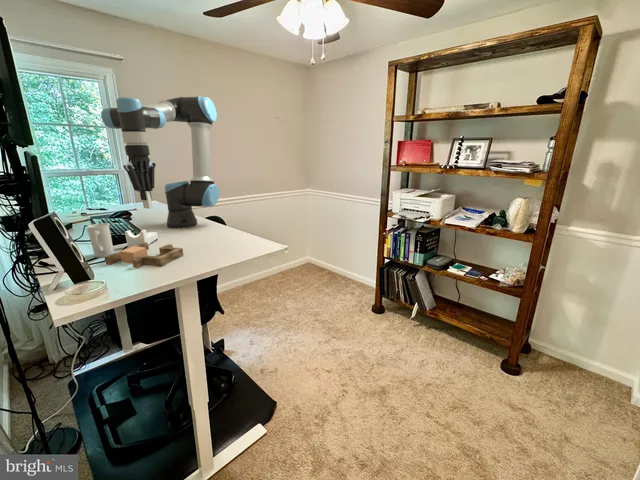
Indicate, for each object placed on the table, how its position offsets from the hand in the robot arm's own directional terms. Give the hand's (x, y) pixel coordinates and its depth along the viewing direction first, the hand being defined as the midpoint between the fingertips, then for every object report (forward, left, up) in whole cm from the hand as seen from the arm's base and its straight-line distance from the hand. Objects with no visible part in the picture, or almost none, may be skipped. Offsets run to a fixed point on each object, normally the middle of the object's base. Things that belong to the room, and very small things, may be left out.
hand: (148, 207), depth 117 cm
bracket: (-8, -13, -19) cm, 24 cm away
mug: (+9, -16, -18) cm, 26 cm away
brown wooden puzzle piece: (+7, +4, -18) cm, 20 cm away
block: (+10, 0, -18) cm, 21 cm away
